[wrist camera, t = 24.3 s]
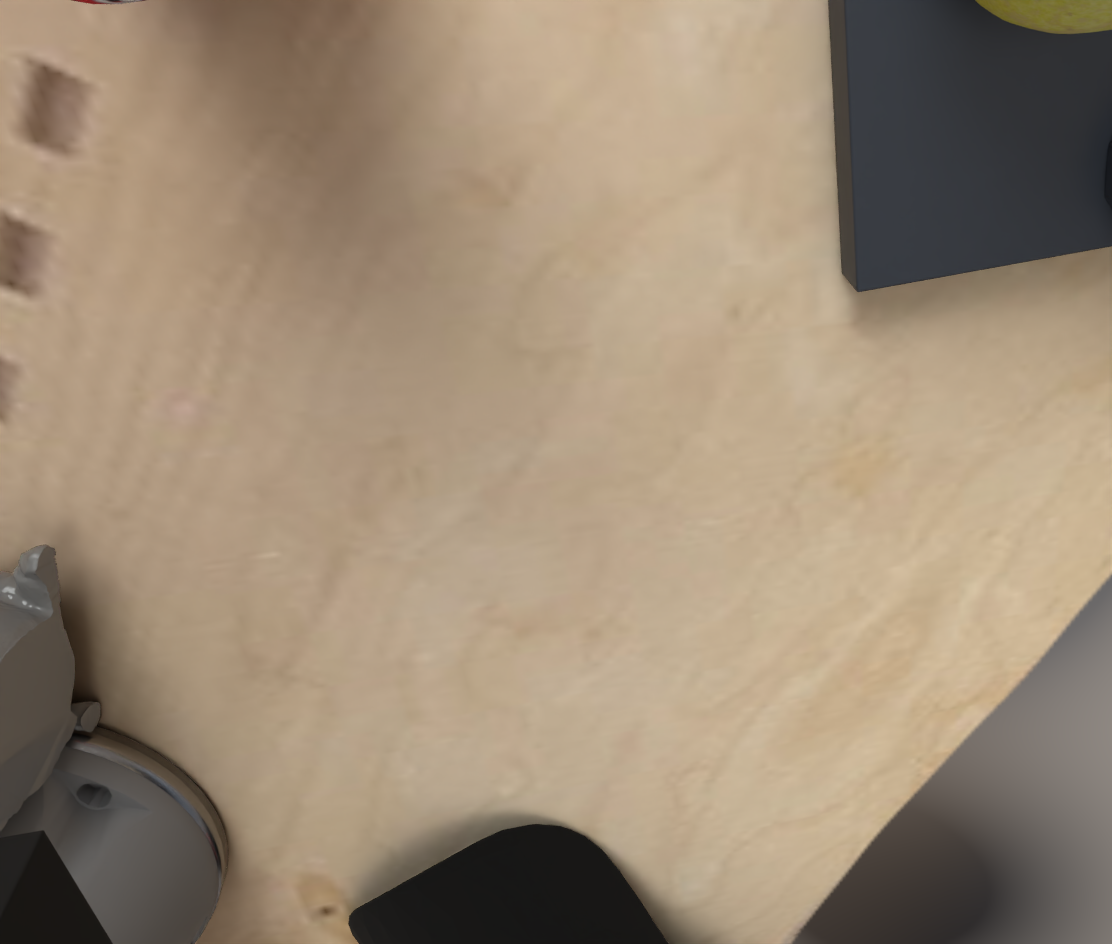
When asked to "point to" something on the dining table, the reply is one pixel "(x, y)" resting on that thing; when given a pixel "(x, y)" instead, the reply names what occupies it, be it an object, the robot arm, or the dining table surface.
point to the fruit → (1054, 14)
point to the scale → (965, 140)
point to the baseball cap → (512, 897)
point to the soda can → (107, 1)
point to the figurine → (34, 680)
